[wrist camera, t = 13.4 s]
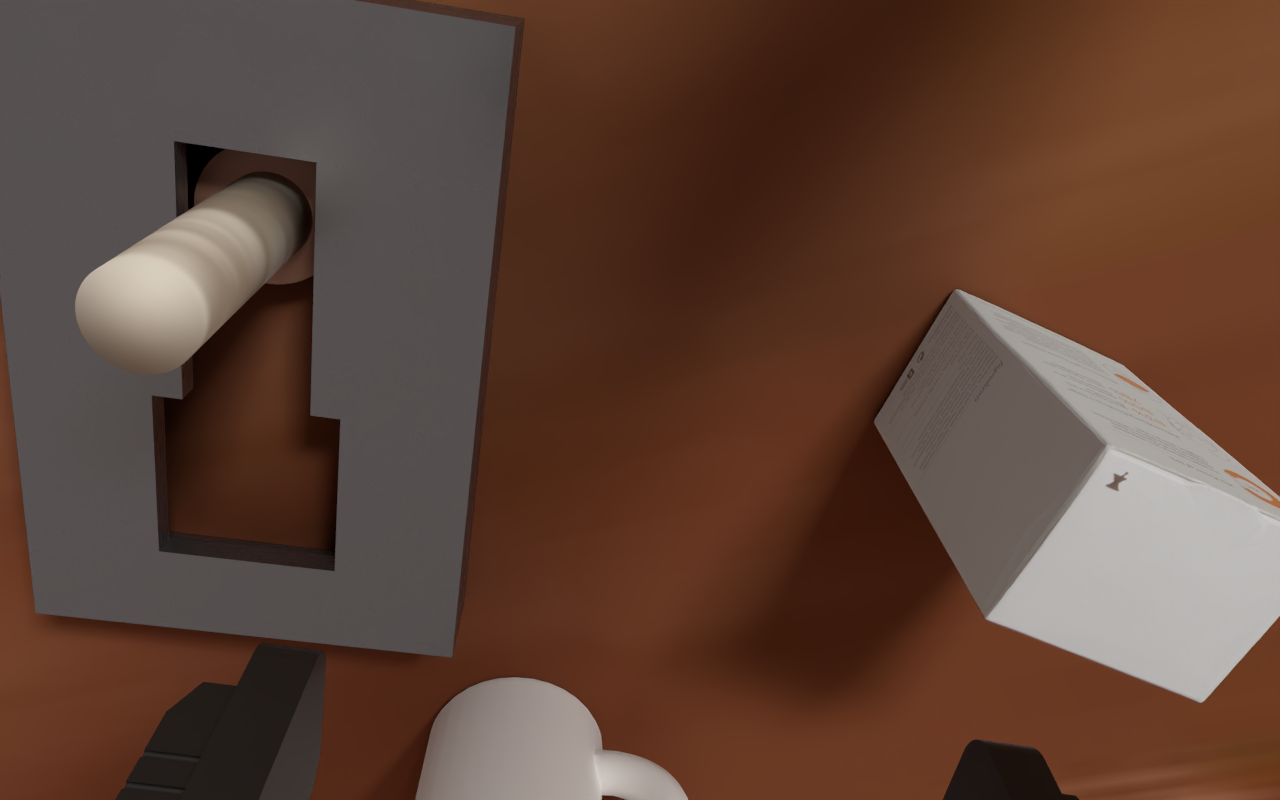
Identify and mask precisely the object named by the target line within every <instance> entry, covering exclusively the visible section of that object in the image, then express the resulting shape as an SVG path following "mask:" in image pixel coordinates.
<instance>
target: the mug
mask: <svg viewBox="0 0 1280 800" xmlns="http://www.w3.org/2000/svg"><path fill="white" fill-rule="evenodd" d="M602 795H607V796H616V797H620V798H623V799H626V800H688V798H687V796H686V795H685V793H684V791H683V790H682V788H681V786H680V785H679V783H678V782H677V781H676V780H675V779H674V777H673V776H672V775H670V774H669V773H668V772H667V771H666V770H665V769H663V768H662V767H660V766H659V765H657V764H656V763H654V762H651V761H649V760H647V759H645V758H642V757H639V756H636V755H633V754H628V753H624V752H619V751H610V750H602V738H601V733H600V731H599V728H598V725H597V723H596V721H595V719H594V718H593V716H592V715H591V713H590V712H589V710H588V709H587V708H586V707H585V706H584V705H583V704H582V703H581V702H580V701H579V700H578V699H577V698H576V697H575V696H573V695H572V694H570V693H569V692H567V691H566V690H564V689H562V688H560V687H558V686H555V685H553V684H551V683H548V682H544V681H540V680H536V679H532V678H521V677H508V678H497V679H493V680H488V681H484V682H481V683H479V684H476V685H474V686H471V687H469V688H467V689H465V690H464V691H462V692H461V693H459V694H458V695H456V696H455V697H454V698H453V699H452V700H451V701H450V702H449V703H448V704H446V705H445V706H444V707H443V709H442V710H441V711H440V713H439V714H438V716H437V717H436V719H435V721H434V723H433V726H432V729H431V732H430V736H429V741H428V745H427V750H426V754H425V759H424V763H423V768H422V772H421V776H420V781H419V785H418V790H417V794H416V799H415V800H602Z"/></svg>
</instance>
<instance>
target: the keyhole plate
mask: <svg viewBox="0 0 1280 800" xmlns="http://www.w3.org/2000/svg"><path fill="white" fill-rule="evenodd" d="M523 27H524V19H523V18H517V17H511V16H505V15H499V14H493V13H487V12H480V11H474V10H468V9H462V8H456V7H450V6H444V5H438V4H432V3H426V2H420V1H414V0H0V296H1V305H2V314H3V323H4V332H5V341H6V350H7V359H8V368H9V377H10V386H11V395H12V404H13V413H14V422H15V431H16V440H17V449H18V458H19V467H20V476H21V485H22V494H23V503H24V512H25V521H26V530H27V539H28V548H29V557H30V566H31V575H32V584H33V593H34V603H35V612H36V613H40V614H49V615H58V616H68V617H77V618H86V619H96V620H105V621H115V622H124V623H133V624H143V625H152V626H162V627H171V628H180V629H190V630H199V631H208V632H218V633H227V634H237V635H246V636H255V637H265V638H274V639H283V640H293V641H302V642H312V643H321V644H330V645H340V646H349V647H359V648H368V649H377V650H387V651H396V652H405V653H415V654H424V655H434V656H443V657H452V656H453V652H454V647H455V642H456V638H457V633H458V629H459V624H460V620H461V615H462V610H463V606H464V597H465V588H466V578H467V568H468V559H469V549H470V539H471V530H472V520H473V510H474V501H475V491H476V482H477V472H478V462H479V453H480V443H481V433H482V424H483V414H484V404H485V395H486V385H487V375H488V366H489V356H490V346H491V337H492V327H493V317H494V308H495V298H496V288H497V279H498V269H499V259H500V250H501V240H502V230H503V221H504V211H505V201H506V192H507V182H508V172H509V163H510V153H511V143H512V134H513V124H514V114H515V105H516V95H517V85H518V76H519V66H520V56H521V47H522V37H523ZM186 143H190V144H197V145H204V146H210V147H217V148H224V149H230V150H237V151H244V152H250V153H257V154H264V155H270V156H277V157H284V158H291V159H297V160H304V161H311V162H317V163H316V204H315V245H314V286H313V326H312V367H311V408H310V416H317V417H325V418H333V419H340V442H339V468H338V494H337V521H336V547H335V551H330V550H322V549H313V548H304V547H296V546H287V545H278V544H269V543H261V542H252V541H243V540H235V539H226V538H217V537H209V536H200V535H191V534H183V533H174V532H169V510H168V486H167V462H166V438H165V415H164V397H168V398H176V399H183V398H184V397H185V396H186V395H187V394H188V393H189V392H190V391H191V390H192V389H193V359H192V356H191V357H190V358H189V359H188V360H187V361H186V362H185V363H184V364H182V365H181V366H179V367H178V368H176V369H174V370H172V371H169V372H166V373H162V374H157V375H143V374H136V373H131V372H128V371H125V370H122V369H120V368H118V367H116V366H114V365H112V364H110V363H109V362H107V361H106V360H104V359H103V358H102V357H101V356H99V355H98V354H97V353H96V352H95V351H94V350H93V349H92V348H91V347H90V345H89V344H88V343H87V341H86V340H85V338H84V336H83V335H82V333H81V331H80V328H79V326H78V323H77V319H76V313H75V301H76V296H77V292H78V290H79V288H80V286H81V284H82V282H83V281H84V279H85V278H86V277H87V276H88V275H89V274H90V273H91V272H93V271H94V270H95V269H97V268H99V267H100V266H102V265H103V264H105V263H106V262H108V261H110V260H111V259H113V258H114V257H116V256H117V255H119V254H121V253H122V252H124V251H125V250H127V249H128V248H130V247H132V246H133V245H135V244H136V243H138V242H139V241H141V240H143V239H144V238H146V237H147V236H149V235H150V234H152V233H154V232H155V231H157V230H158V229H160V228H161V227H163V226H165V225H166V224H168V223H169V222H171V221H172V220H174V219H176V218H177V217H179V216H180V215H182V214H183V213H185V212H187V211H188V183H187V148H186Z"/></svg>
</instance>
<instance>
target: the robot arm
mask: <svg viewBox="0 0 1280 800" xmlns="http://www.w3.org/2000/svg"><path fill="white" fill-rule="evenodd" d="M325 669H326V656H325V652H324V651H319V650H311V649H304V648H296V647H289V646H281V645H273V644H266V643H261V644H260V645H258V647H257V648H256V650H255V651H254V653H253V655H252V657H251V659H250V661H249V663H248V665H247V667H246V669H245V671H244V673H243V675H242V677H241V679H240V681H239V683H238V685H237V686H231V685H224V684H216V683H208V682H203V683H202V684H200V685H199V686H198V687H197V688H195V689H194V690H193V691H192V692H190V693H189V694H188V695H187V696H185V697H184V698H183V699H182V700H180V701H179V702H178V703H177V704H176V705H174V706H173V707H172V708H171V709H169V710H168V711H167V712H166V713H165V715H164V717H163V719H162V720H161V722H160V724H159V725H158V727H157V729H156V731H155V732H154V734H153V736H152V738H151V739H150V741H149V743H148V745H147V746H146V748H145V751H144V755H143V757H140V758H139V760H138V762H137V764H136V765H135V767H134V769H133V771H132V772H131V774H130V776H129V778H128V779H127V781H126V786H125V788H124V789H122V790H121V791H120V793H119V795H118V797H117V798H116V800H309V799H310V796H311V792H312V789H313V785H314V781H315V777H316V772H317V767H318V762H319V756H320V748H321V735H322V718H323V702H324V685H325ZM943 800H1079V799H1078V798H1077V797H1076V796H1074V795H1066V794H1062V793H1061V791H1060V789H1059V787H1058V785H1057V783H1056V781H1055V779H1054V777H1053V775H1052V773H1051V771H1050V769H1049V767H1048V765H1047V763H1046V761H1045V759H1044V758H1043V756H1042V754H1041V753H1040V752H1039V751H1038V750H1037V749H1035V748H1033V747H1030V746H1022V745H1014V744H1007V743H999V742H992V741H984V740H973V741H971V742H970V743H969V744H968V745H967V746H966V748H965V750H964V752H963V754H962V757H961V759H960V761H959V764H958V766H957V768H956V771H955V773H954V775H953V777H952V780H951V782H950V784H949V787H948V789H947V791H946V794H945V796H944V798H943Z"/></svg>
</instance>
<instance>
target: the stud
mask: <svg viewBox="0 0 1280 800" xmlns="http://www.w3.org/2000/svg"><path fill="white" fill-rule="evenodd" d="M316 163H317V162H311V161H304V160H297V159H291V158H284V157H277V156H270V155H264V154H257V153H250V152H244V151H237V150H230V149H224V150H223V151H221V152H220V153H218V154H217V155H216V156H214V157H213V158H212V159H211V160H210V161H209V162H208V164H207V165H206V166H205V168H204V169H203V171H202V173H201V175H200V177H199V179H198V182H197V185H196V189H195V194H194V207H193V208H191V209H190V210H188V211H187V212H185V213H183V214H182V215H180V216H179V217H177V218H176V219H174V220H172V221H171V222H169V223H168V224H166V225H165V226H163V227H161V228H160V229H158V230H157V231H155V232H154V233H152V234H150V235H149V236H147V237H146V238H144V239H143V240H141V241H139V242H138V243H136V244H135V245H133V246H132V247H130V248H128V249H127V250H125V251H124V252H122V253H121V254H119V255H117V256H116V257H114V258H113V259H111V260H110V261H108V262H106V263H105V264H103V265H102V266H100V267H99V268H97V269H95V270H94V271H93V272H91V273H90V274H89V275H88V276H87V277H86V278H85V279H84V281H83V282H82V284H81V286H80V288H79V290H78V292H77V296H76V301H75V313H76V319H77V323H78V326H79V328H80V331H81V333H82V335H83V336H84V338H85V340H86V341H87V343H88V344H89V345H90V347H91V348H92V349H93V350H94V351H95V352H96V353H97V354H98V355H99V356H101V357H102V358H103V359H104V360H106V361H107V362H109V363H110V364H112V365H114V366H116V367H118V368H120V369H122V370H125V371H128V372H131V373H136V374H143V375H157V374H162V373H166V372H169V371H172V370H174V369H176V368H178V367H179V366H181V365H182V364H184V363H185V362H186V361H187V360H188V359H189V358H190V357H191V356H192V355H193V354H194V353H195V352H196V351H197V350H198V349H199V348H200V347H201V346H202V345H203V344H204V343H205V342H206V341H207V340H208V339H209V338H210V337H211V336H212V335H213V334H214V333H215V332H216V331H217V330H218V329H219V328H220V327H221V326H222V325H223V324H224V323H225V322H226V321H227V320H228V319H229V318H230V317H231V316H232V315H233V314H234V313H235V312H237V311H238V310H239V309H240V308H241V307H242V306H243V305H244V304H245V303H246V302H247V301H248V300H249V299H250V298H251V297H252V296H253V295H254V294H255V293H256V292H257V291H258V290H259V289H260V288H261V287H262V286H263V285H264V284H265V283H267V284H290V283H296V282H299V281H302V280H305V279H307V278H309V277H311V276H313V275H314V245H315V204H316Z"/></svg>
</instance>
